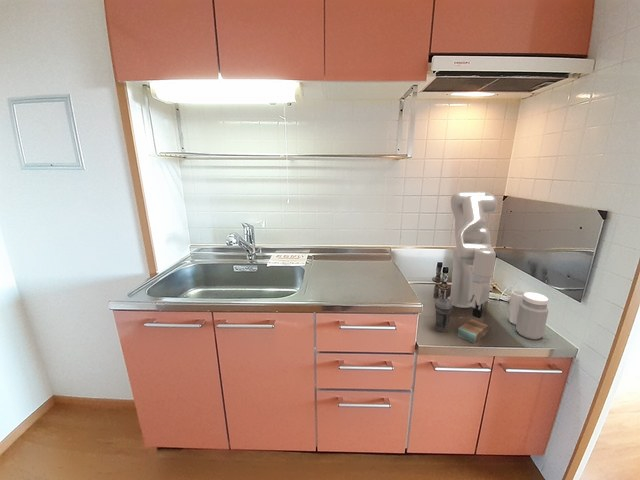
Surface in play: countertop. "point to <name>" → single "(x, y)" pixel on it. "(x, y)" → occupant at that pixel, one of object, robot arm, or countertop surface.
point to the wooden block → (472, 330)
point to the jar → (532, 315)
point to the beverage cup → (443, 313)
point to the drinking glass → (515, 305)
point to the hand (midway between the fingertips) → (476, 316)
